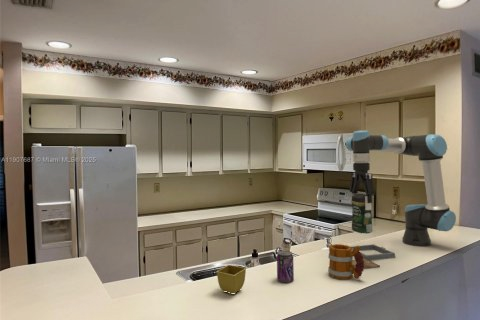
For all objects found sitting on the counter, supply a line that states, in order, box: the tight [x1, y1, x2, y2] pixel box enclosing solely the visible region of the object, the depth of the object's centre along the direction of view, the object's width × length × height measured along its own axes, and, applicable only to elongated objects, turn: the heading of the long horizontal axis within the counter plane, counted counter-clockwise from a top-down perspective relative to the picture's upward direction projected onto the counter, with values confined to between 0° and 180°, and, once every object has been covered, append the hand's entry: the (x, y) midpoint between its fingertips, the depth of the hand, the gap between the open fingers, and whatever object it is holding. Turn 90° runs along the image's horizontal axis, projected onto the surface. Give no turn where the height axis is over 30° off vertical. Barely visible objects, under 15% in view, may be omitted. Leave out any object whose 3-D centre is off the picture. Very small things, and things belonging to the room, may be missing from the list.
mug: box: [327, 243, 365, 280], centre depth 142 cm, size 11×16×15 cm, turn 44°
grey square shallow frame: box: [350, 244, 396, 261], centre depth 173 cm, size 17×17×3 cm
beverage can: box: [276, 250, 295, 283], centre depth 139 cm, size 7×7×12 cm
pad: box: [352, 258, 381, 270], centre depth 157 cm, size 11×11×1 cm
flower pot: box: [216, 264, 247, 294], centre depth 128 cm, size 9×9×9 cm
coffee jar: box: [350, 193, 373, 234], centre depth 157 cm, size 10×8×19 cm
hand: (361, 208), depth 157 cm, fingers closed on coffee jar, 9 cm apart
